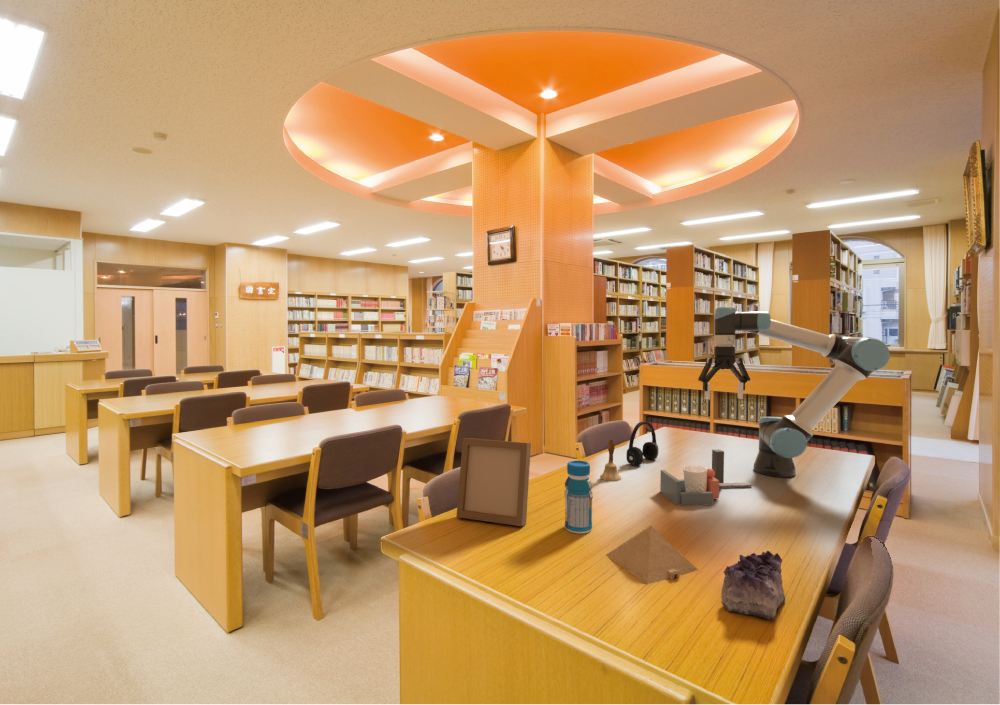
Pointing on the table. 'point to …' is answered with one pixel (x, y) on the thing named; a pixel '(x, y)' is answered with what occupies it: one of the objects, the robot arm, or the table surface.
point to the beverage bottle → (578, 498)
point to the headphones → (648, 448)
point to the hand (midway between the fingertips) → (723, 399)
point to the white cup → (695, 478)
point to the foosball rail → (734, 485)
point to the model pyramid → (651, 557)
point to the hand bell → (610, 465)
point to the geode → (754, 585)
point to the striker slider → (715, 473)
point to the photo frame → (494, 481)
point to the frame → (676, 495)
